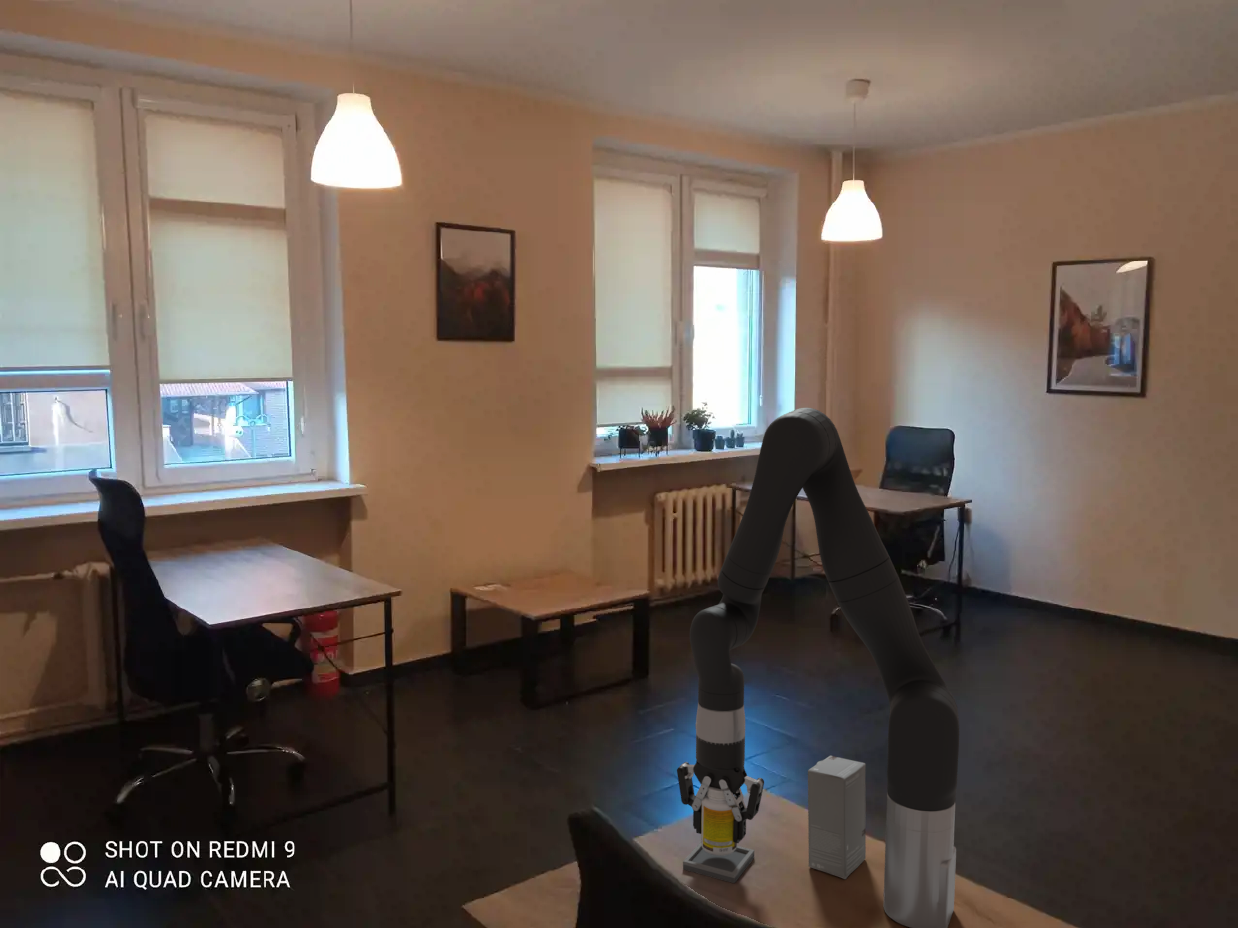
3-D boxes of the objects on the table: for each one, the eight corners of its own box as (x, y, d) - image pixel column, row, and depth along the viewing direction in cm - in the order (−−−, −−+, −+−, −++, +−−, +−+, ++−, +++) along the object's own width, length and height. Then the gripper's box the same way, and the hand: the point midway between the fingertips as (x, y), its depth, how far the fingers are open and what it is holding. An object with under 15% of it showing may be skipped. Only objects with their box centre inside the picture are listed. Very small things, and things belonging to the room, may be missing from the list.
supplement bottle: (740, 856, 149) (741, 792, 148) (705, 858, 149) (705, 794, 147) (732, 838, 155) (733, 776, 154) (697, 840, 154) (698, 778, 153)
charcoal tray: (754, 857, 154) (754, 849, 154) (734, 883, 146) (734, 874, 146) (704, 844, 158) (704, 837, 158) (683, 869, 150) (683, 861, 150)
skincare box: (845, 881, 147) (848, 781, 145) (802, 866, 151) (804, 768, 149) (868, 858, 154) (871, 762, 152) (826, 844, 158) (828, 751, 156)
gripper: (773, 732, 149) (771, 836, 151) (687, 715, 156) (686, 815, 158) (756, 749, 143) (754, 858, 145) (667, 731, 150) (667, 835, 152)
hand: (719, 835), depth 151 cm, fingers closed on supplement bottle, 5 cm apart
